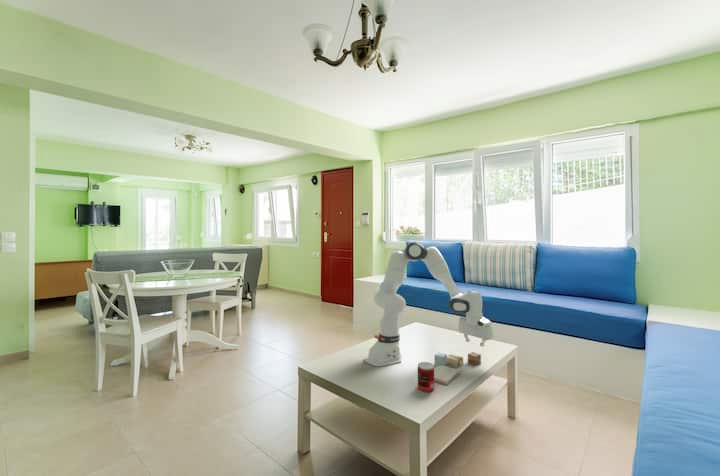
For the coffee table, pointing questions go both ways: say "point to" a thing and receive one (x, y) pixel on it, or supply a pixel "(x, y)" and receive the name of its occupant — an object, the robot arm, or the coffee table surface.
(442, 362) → the grey-blue block
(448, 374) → the washcloth
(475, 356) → the walnut block
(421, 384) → the canned food
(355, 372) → the coffee table surface
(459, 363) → the oak base block
